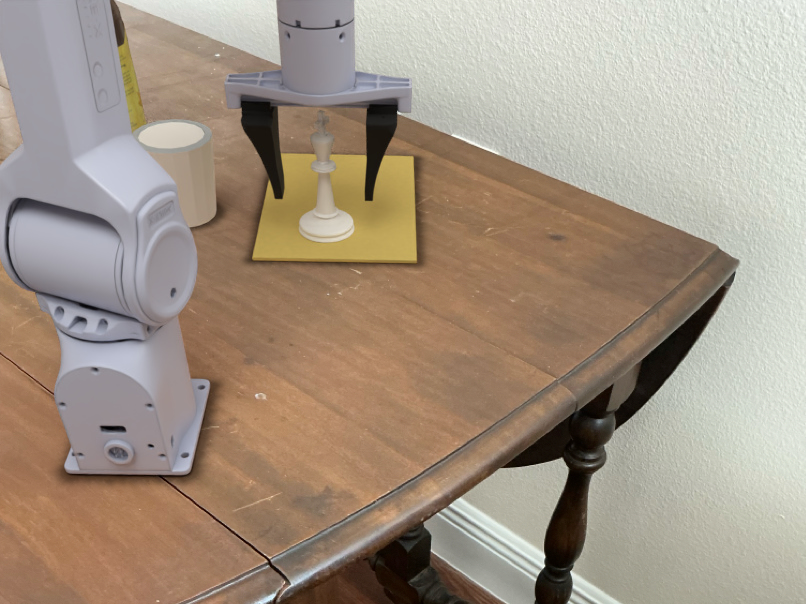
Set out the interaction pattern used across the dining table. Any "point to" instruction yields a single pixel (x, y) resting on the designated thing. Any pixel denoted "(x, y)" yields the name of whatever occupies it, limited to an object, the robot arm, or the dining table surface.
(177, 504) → the dining table surface
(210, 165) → the cream cylinder
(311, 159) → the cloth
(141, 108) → the sauce bottle
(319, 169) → the chess piece
